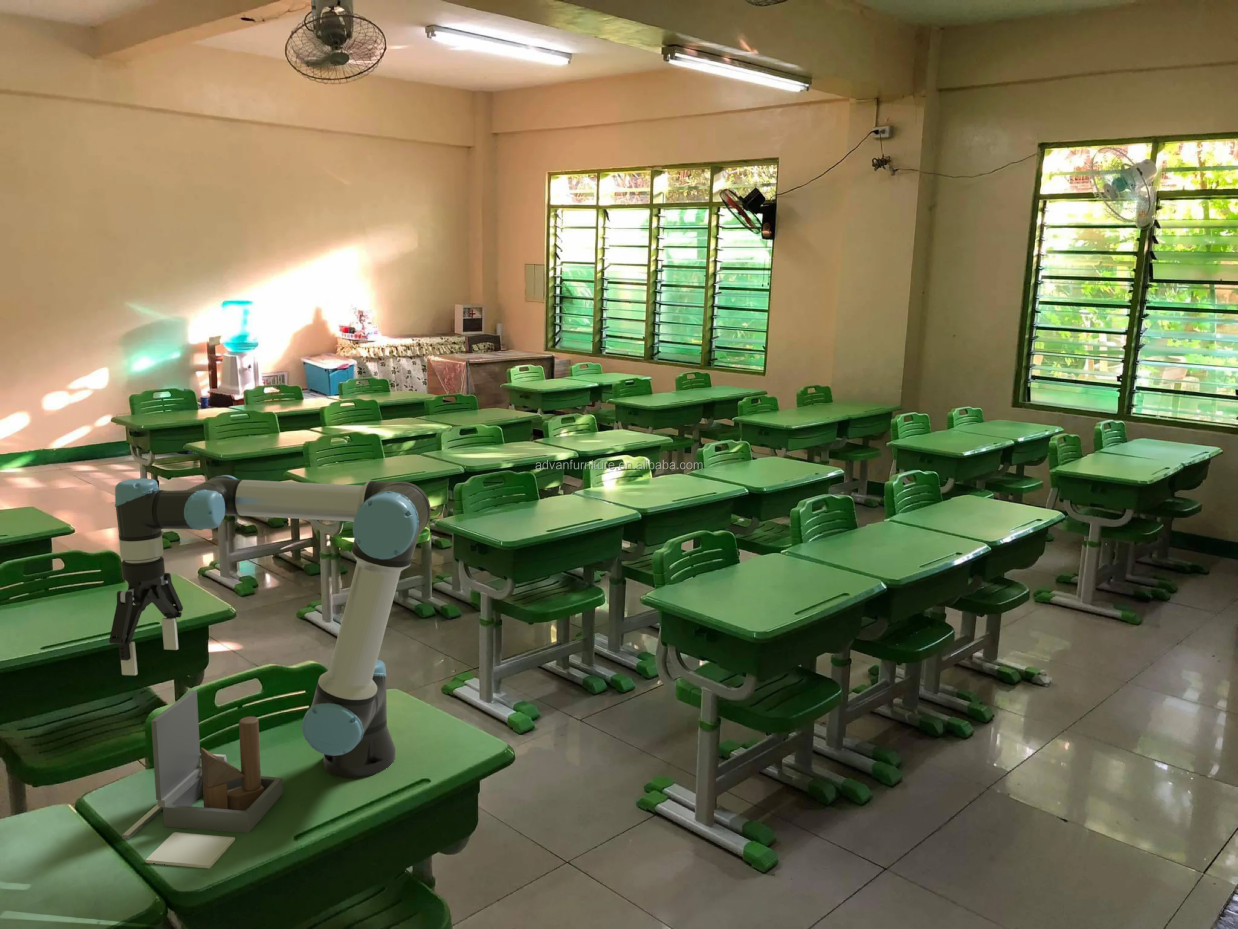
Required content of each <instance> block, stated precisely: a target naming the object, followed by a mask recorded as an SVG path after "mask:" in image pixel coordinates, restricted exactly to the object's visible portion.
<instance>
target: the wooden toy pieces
mask: <svg viewBox="0 0 1238 929" xmlns="http://www.w3.org/2000/svg"><path fill="white" fill-rule="evenodd" d="M259 724H260V723H259V718H258V717H257V716H251V715H250V716H246V717H243V718H241V719H239V721H238V730H239V731H238V732H239V733H238V734H239V755H240V756H239V757H240V769H239V768H237V767H235V766H234V765H232V764H230V762H229V763H228V761H227V762H225V761H224V760H222V759H220V758H219V757H217V756H215V755H214V754H215V753H212V752H210V751H208V750H207V749H205V748H204V747H200V754H201V759H200V761H201V765H202V781H203V795H202V799H203V800H202V801H203V807H204V808H216V809H228V810H240V811H246V810H247V809H248V808H249V807H250V806H251V805H252V804H253V803H254V802H255V801H256V800H257V799H258V798H259V797H260V795H261V794H262V793H263V792H264V787H263V786H262V785H261V776H262V775H261V772H262V771H261V750H260V726H259ZM238 778H241V780H242V786H241V787H238V788H234V789H231V790H228V791H227V783H226V782H229V781H232V780H235V779H238Z"/></svg>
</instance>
